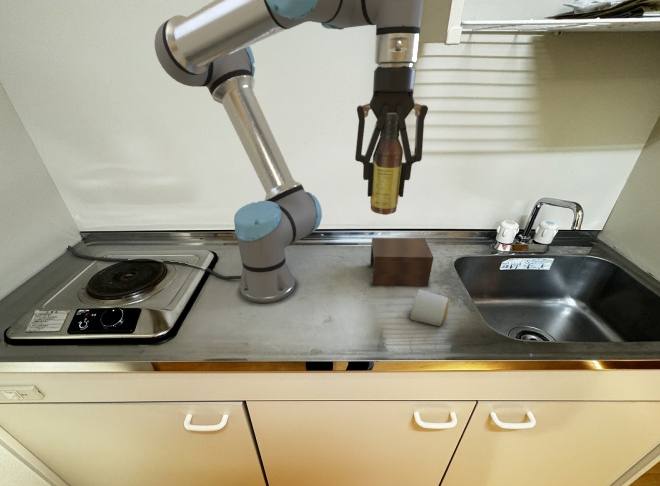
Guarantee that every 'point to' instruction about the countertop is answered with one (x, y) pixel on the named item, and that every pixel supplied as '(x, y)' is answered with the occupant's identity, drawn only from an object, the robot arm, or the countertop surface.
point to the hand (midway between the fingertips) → (384, 194)
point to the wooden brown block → (400, 262)
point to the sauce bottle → (387, 168)
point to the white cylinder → (430, 308)
